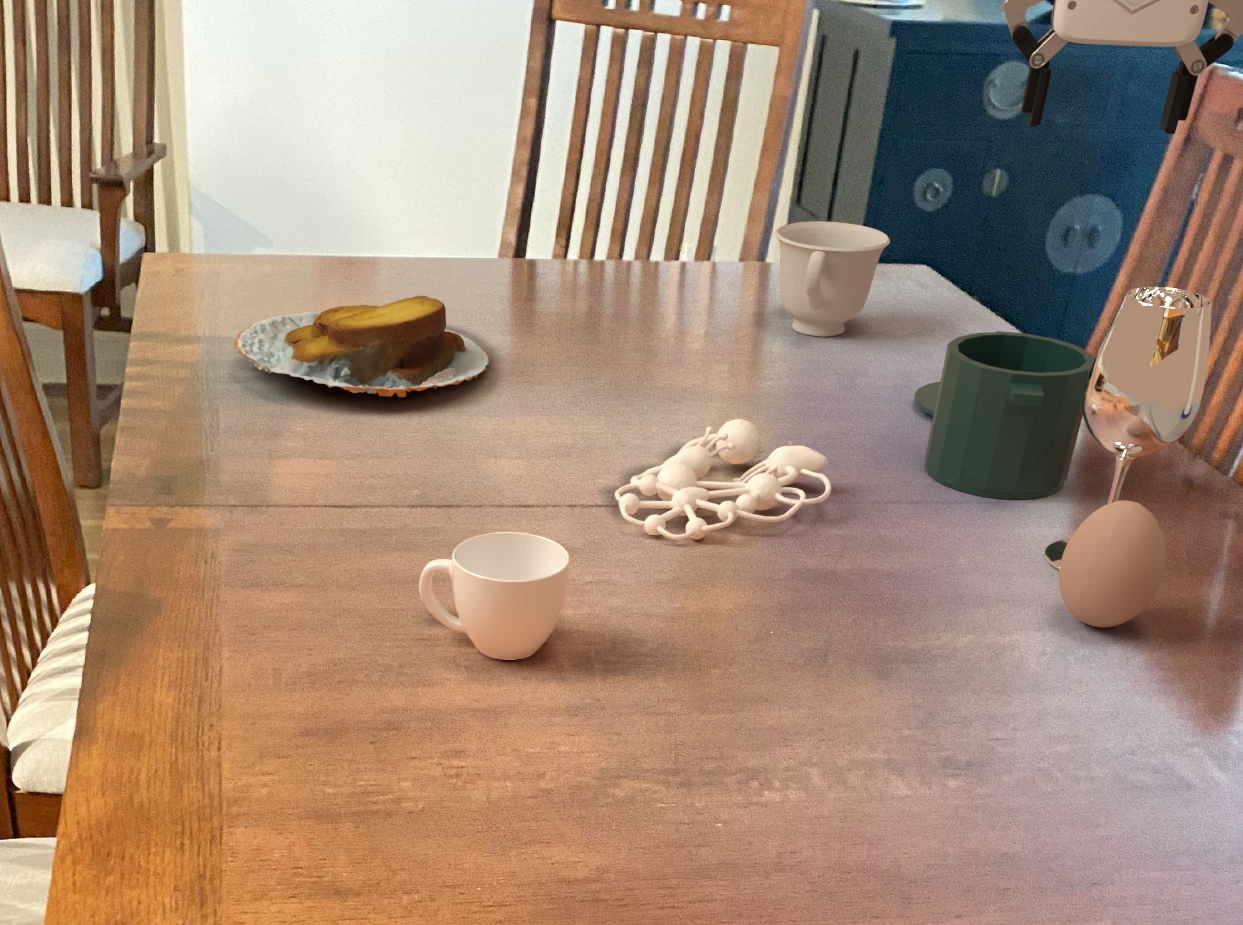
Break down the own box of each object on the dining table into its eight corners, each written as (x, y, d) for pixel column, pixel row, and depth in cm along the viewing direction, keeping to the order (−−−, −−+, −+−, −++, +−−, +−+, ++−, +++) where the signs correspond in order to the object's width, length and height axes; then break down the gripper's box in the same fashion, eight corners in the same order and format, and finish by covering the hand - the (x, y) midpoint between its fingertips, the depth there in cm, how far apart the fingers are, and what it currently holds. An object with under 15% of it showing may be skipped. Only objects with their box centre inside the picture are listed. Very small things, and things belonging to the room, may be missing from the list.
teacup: (745, 344, 160) (757, 247, 154) (775, 308, 172) (787, 216, 166) (859, 359, 156) (876, 260, 151) (882, 321, 168) (898, 228, 162)
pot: (1052, 445, 136) (1082, 329, 130) (1075, 518, 122) (1108, 391, 116) (920, 433, 138) (943, 318, 132) (928, 503, 124) (954, 378, 119)
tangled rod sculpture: (706, 580, 114) (715, 532, 112) (570, 508, 122) (575, 462, 120) (856, 507, 125) (867, 462, 122) (722, 446, 133) (729, 402, 130)
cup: (555, 679, 99) (561, 586, 95) (407, 663, 100) (407, 571, 96) (570, 626, 105) (576, 537, 101) (430, 612, 106) (431, 523, 103)
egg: (1165, 630, 106) (1203, 509, 101) (1105, 654, 103) (1141, 530, 98) (1086, 595, 110) (1119, 477, 105) (1026, 616, 107) (1057, 496, 102)
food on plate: (278, 326, 163) (276, 264, 159) (505, 343, 159) (508, 280, 156) (204, 402, 142) (199, 332, 138) (463, 424, 138) (465, 353, 135)
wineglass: (1020, 550, 117) (1085, 288, 106) (1097, 535, 119) (1168, 277, 108) (1092, 591, 111) (1169, 318, 100) (1172, 574, 114) (1256, 306, 102)
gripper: (1035, -139, 103) (983, 130, 113) (1307, -134, 100) (1230, 142, 109) (1027, -142, 109) (978, 113, 119) (1284, -138, 106) (1212, 125, 116)
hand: (1099, 127), depth 114 cm, fingers open, 9 cm apart
